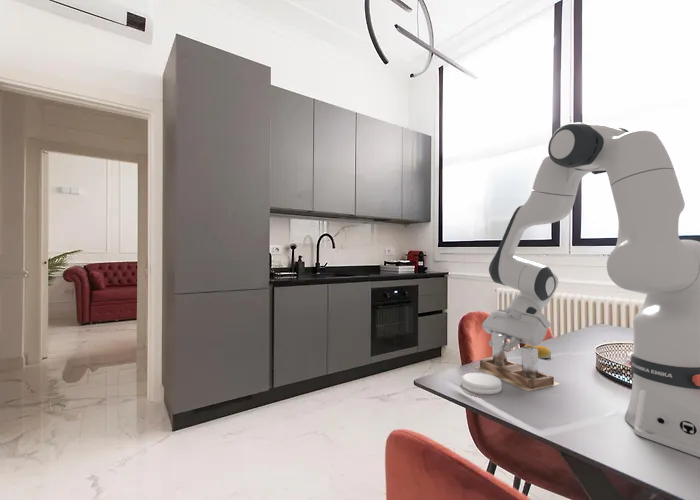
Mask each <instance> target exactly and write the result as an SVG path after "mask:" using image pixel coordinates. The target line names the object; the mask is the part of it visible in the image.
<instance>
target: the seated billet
mask: <svg viewBox="0 0 700 500" xmlns="http://www.w3.org/2000/svg"><path fill="white" fill-rule="evenodd" d="M521 365H522V376H524V377H526V378H529V379H536V378H538V371H539V358H538V349H537V348H533V347H524V346H523V347H521Z"/></svg>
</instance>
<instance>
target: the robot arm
mask: <svg viewBox="0 0 700 500" xmlns="http://www.w3.org/2000/svg"><path fill="white" fill-rule="evenodd" d="M547 147H548V149H547V150H548V151H547V153H548V154H547V155H546V156H545V157H544V158H543V159H542V162H541V164H540V165H539V168H538V170H537V173H536V175H535V178H534V181H533V186H532V189H531V191H530V192H531V193H530V195H529V196H528V199H527V200H526V202H525V203H524V204H523V205H519V206H518V207H516V209H515V210H514V212H513V214H512V216H511V218H510V220H509V222H508V223H507V227H506V229H505V232H504V234H503V236H502V239H501V242H500V244H499V246H498V249H497V250H496V252H495V255H494V256H493V258H492V259H491V262H490V264H489V266H488V272H489V276H490V278H491V279H492V281H493V282H494V283H495V284H499V285H502V286H507V287H509V288H512V289H514V290H517V291H519V293H518V294H517V295H516V296H514V298H513V299H512V300H511V302H510V303H509V304H508V306H507V307H506V308H505V309H506V310H505V309H501V308H499V309H497V310H494V311H492V312H491V313H490V314H489V315H488V316H487V317H486V319H484V321H483V322H482V324H481V328H482V329H483V331H485V332H486V333H487V334H490V335H491V336H490V340H489V342H488V345H489V346H490V347H491V348H493V342H492V334H493V333H503V334H506V335H507V340H510V341H509V342H507V344H504V345H503V346H502V349H503V350H504V351H506V352H507V353H509V352H510V351H511V350H512V349H514V348H515V347H517V346H519V344H524V345H526V344H527V345H530V346H533V347H535V346H540V345H541V343H542V341H543V340H544V339H545V337H546V335H547V331H548V329H550V327H551V326H552V324H551V322H550V321H549V320H548V318H547V317H546V315H544V314H543V309H544V308H545V307H546V306H548V304H549V303H550V302H551V300H552V299H553V296H554V295H555V293H556V291H557V288H558V285H559V278H558V277H557V275H556V274H555V273H554V272H553V270H552V269H551V268H550V267H549V266H547V265H544V264H541V263H537V262H535V261H530V260H527V259H524V258H522V257H519V256H517V255H516V250H517V248H518V246H519V243H520V241H521V239H522V237H523V235H524V232H525V231H526V230H527V229H529V228H531V227H533V226H540V225H541V226H542V225H547V224H553V223H556V222H560V221H562V220H564V219H565V218H566V217H567V216H569V214H570V213H571V212H572V209H573V207H574V205H575V201H576V198H577V195H578V190H579V185H580V183H581V180H582V179H583V178H584V177H585V175H587V174H589V173H591V174H593V175H598V174H604V173H606V174H607V177H608V181H609V185H610V189H611V193H612V196H613V197H612V198H613V201H614V204H615V209H616V213H617V219H618V231H617V239H616V240H617V241H616V244H615V247H614V249H613V250H612V251H611V252H610V254H609V255H608V258H607V261H606V271H607V274H608V276H609V278H610V280H611V281H612V282H613V283H614V284H615V285H616V286H618V287H619V288H621V289H623V290H626V291H630V292H635V293H638V294H639V293H640V294H645V299H644V302H643V304H642V306H641V308H640V310H639V311H638V312H637V313H636V314H635V316H634V318H633V321H632V330H633V331H632V333H633V335H632V336H633V337H632V339H633V340H632V341H633V345H632V346H633V353H631V356H630V373H631V377H632V384H631V385H632V386H631V393H630V397H629V402H628V406H627V410H626V412H625V414H624V419H625V421H626V422H627V423H628V424H629V425H630V426H631V427H632V428H633V431H634V433H635V435H637V436H638V437H642V438H645V439H647V440H649V441H652V442H655V443H658V444H660V445H664V446H667V447H670V448H672V449H676V450H678V451H681V452H684V453H686V454H689V455H691V456H693V457H694V456H695V457H698V458H700V241H698V240H694V239H680V236H679V235H680V234H679V222H680V221H679V220H680V217H681V216H680V215H681V214H682V212H683V211H684V209H685V204H686V203H685V199H684V197H683V193H682V190H681V186H680V183H679V181H678V177H677V174H676V171H675V167H674V164H673V162H672V160H671V157H670V155H669V153H668V151H667V149H666V147H665V146H664V143H663V141H662V140H661V139H660V138H659V136H658V134H656V133H655V132H653V131H652V130H648V129H636V130H635V129H634V130H631V131H630V130H627V129H626V128H622V127H614V126H609V125H607V124H603V123H585V122H571V123H568V124H567V123H566V124H564V125H561V126H560V127H558V128H557V129H556V130H555V131H554V133H553V134H552V136H551V137H550V140H549V143H548V146H547Z"/></svg>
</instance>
